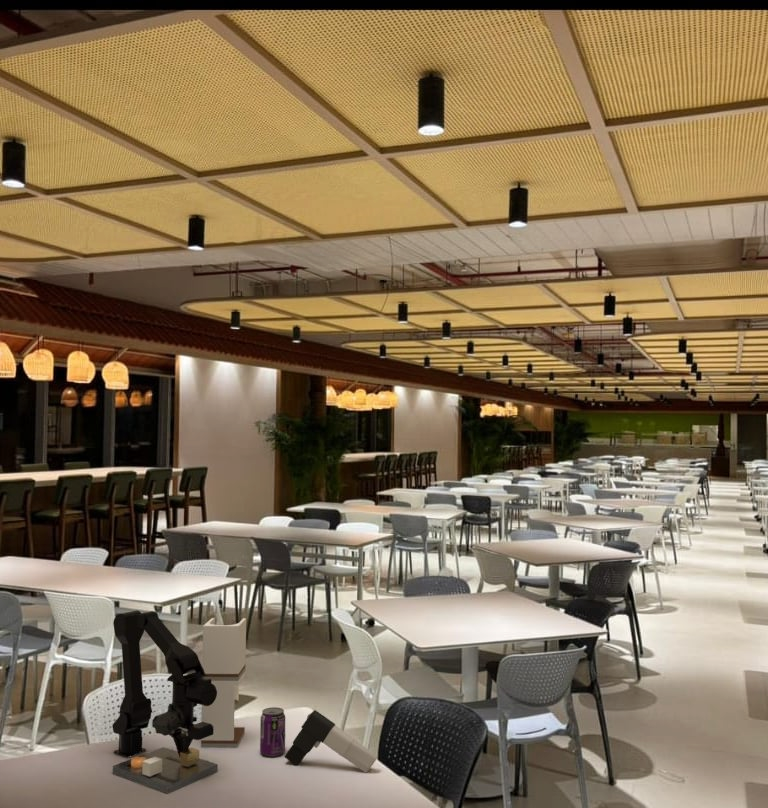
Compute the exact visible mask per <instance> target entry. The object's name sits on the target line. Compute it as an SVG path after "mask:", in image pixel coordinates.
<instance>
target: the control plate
mask: <svg viewBox="0 0 768 808" xmlns="http://www.w3.org/2000/svg"><path fill="white" fill-rule="evenodd" d="M137 757H145V758H147V759H150V758H152V757H158V758H161V759H162V772H160V773H157V774H155V775H152V776H150V777H149V776H147V775H144V774H142V768H141V769H138V770H136V769H133V768H131V760H132V759H133V758H130V759H128V760H125V761H122V762H120V763H117V764H115V765H112V774H113V775H116V776H117V777H121V778H124V779H125V780H129V781H132V782H134V783H137V784H140V785H142V786H145V787H148V788H151V789H154V790H157V791H158V792H162V793H165V794H170V793H172V792H175V791H177V790H180V789H181V788H184V787H186V786H188V785H190V784H193V783H195V782H197V781H200V780H202V779H204V778H207V777H209V776H212V775H213V774H215V773H218V763H215V762H211V761H209V760H205V759H202V758H200V757H199V762H198V763H196V764H193V765H191V766H188V767H187V766H184V765H181V764H180V757H179V754H178V751H177V750H174V749H171V748H167V747H165V746H163V747H159V748H157V749H154V750H152V751H149V752H147V753H144V754H141V755H139V756H137Z"/></svg>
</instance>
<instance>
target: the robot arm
mask: <svg viewBox="0 0 768 808" xmlns="http://www.w3.org/2000/svg"><path fill="white" fill-rule="evenodd" d="M112 622H113V631H114V635H115V638H116V639H117V640H118V641H119V643H120V644H121V653H122V656H121V657H122V658H121V659H122V670H123V671H122V673H123V683H124V684H123V686H124V688H123V689H124V697H123V699H122V702H121V704H120V705H119V716H118V717H117V718H116V719H115V721H114V722H113V724H112V727H111V728H112V730H113V733H114V734H117V735H118V749H115V750H114V751H113V753H114V754H117V755H120V756H123V757H126V758H130V757H133V756H136V755H139V754H140V753H144V752H146V751H147V748H145V747H143V729H147V728H148V727H149V723H150V721H151V717H152V713H153V709H152V700H151V698H147V696H146V694H144V689H143V673H142V660H141V659H142V658H141V646H140V643H141V642H140V641H141V639H142V637H143V635H144V633H146V634H147V635H148V636H149V637H150V639H151V640H152V642H154V644H155V645H156V646H157V648H159V650H160V651H161V652H162V653H163V655H164V657H165V658H164V661H165V665H166V667H167V669H168V670H169V673H170V674H171V675H170V676H169V677H167V681H168V682H171V683H172V698H171V700H172V701H171V703H169V704H168V706H167V711H166V712H163V713H161V714H158V715H155V716H154V718H152V721H151V722H152V723H151V724H152V728H154V730H155V733H156V734H157V735H159V734H160V735H162V736H170V737H171V738H172V739H173V741H174V745H175V747H176V751H178V754H179V757H180V752H182V751H184V750H187V749H189V748H190V746H191V744H192V742H193V740H194V741H201V739H203V738H205V737H208V736H211V735H213V732H214V726H213V725H212V724H209V723H206V722H198V723H195V722H197V720H198V717H197V716H194V715H195V712H194V711H195V710H194V708H195V707H197V706H198V705H200V706H202V705H204V706H210V705H211V704H212V703H213V702H214V701H215V699H216V696H217V690H216V687H215V685H214V684H211V679H209V678H202V677H205V676H206V674H205V672H204V669H203V667H202V663H201V661H200V659H199V656H198V654H197V653H196V652H195V651H194V650H193V649H192V648H191V647H189V646H188V645H186V644H183V643H181V642H180V641H178V639H177V638H176V637H175V636H174V635H173V633H172V632H171V630H169V628H168V627H167V626H166V625H165V624H164V622H163V621H162V620H161V619H160V617H159V614H158V612H157V611H153V610H150V611H146V612H141V611H140V610H131V611H126V612H121V613H118V614H116V616H115V617H114V618H113V621H112Z"/></svg>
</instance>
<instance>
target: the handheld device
mask: <svg viewBox="0 0 768 808" xmlns="http://www.w3.org/2000/svg"><path fill="white" fill-rule="evenodd" d="M321 743H322V744H324V745H325V746H327V747H328V748H330V750H332V751H333V752H335V753H337V755H339V756H341V757H342V758H344V759H345V760H347V761H348V762H349V763H351V764H352V765H354V766H355V767H357V768H358V769H360V770H361V771H362V772H364V773H366V774H367V773H368V772H369V770H370V769H371V768H372V766H373V765H374V763H375V762H376V761H377V759H378V755H376V754H375V753H374V752H373V751H371V750H370V749H368V748H367V747H366V746H365V745H363V744H362V743H360V742H359V741H358V740H357V739H355V737H353V736H352V735H350V734H348V732H346V731H344V729H342V728H340V727H338V726H337V725H336V723H335V722H333V721H331V720H330V719H329V718H327V717H326V716H325V715H323V714H322V713H320V712H319V711H317V710H316V709H314V710H312V712H310V713H308V714H307V717H306V720H305V721H304V723H303V724H302V725H301V730H300V731H299V732H298V733H297V735H296V737H295V738H294V740H293V741H292V745H291V746H290V748H289V750H288V751H287V752H286V754H285V755H284V758H285V759H286V760H288V761H289V762H291V763H292V764H293V765H294V766H296V767H297V766H299V765H300V764H301V762H302V761H303V760H304V758H305V757H306V755H307V754H309V753H310V752H311V751H312V749H313V748H316V749H318V747H319V746H320V744H321Z"/></svg>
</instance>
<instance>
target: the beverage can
mask: <svg viewBox="0 0 768 808" xmlns="http://www.w3.org/2000/svg"><path fill="white" fill-rule="evenodd" d="M284 712H285V710H284V708H282V707H277V706H275V707H273V706H272V707H266V708H264V709H262V711H261V713H262V714H261V716H260V727H259V728H260V729H259V730H260V735H259V737H260V738H259V745H260V746H259V752H260V754H262V755H264V756H266V757H278V756H280V755H281V754H283V753H285V751H286V715H285V713H284Z"/></svg>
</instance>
